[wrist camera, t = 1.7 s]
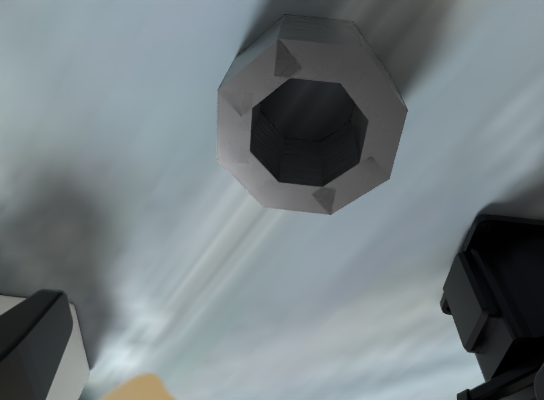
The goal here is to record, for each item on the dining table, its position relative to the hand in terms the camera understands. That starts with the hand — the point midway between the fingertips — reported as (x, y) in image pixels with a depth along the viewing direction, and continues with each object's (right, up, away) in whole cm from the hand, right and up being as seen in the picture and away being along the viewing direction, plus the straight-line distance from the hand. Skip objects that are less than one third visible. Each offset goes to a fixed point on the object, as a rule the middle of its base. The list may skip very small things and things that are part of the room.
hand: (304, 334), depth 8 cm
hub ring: (+1, +7, +11) cm, 13 cm away
